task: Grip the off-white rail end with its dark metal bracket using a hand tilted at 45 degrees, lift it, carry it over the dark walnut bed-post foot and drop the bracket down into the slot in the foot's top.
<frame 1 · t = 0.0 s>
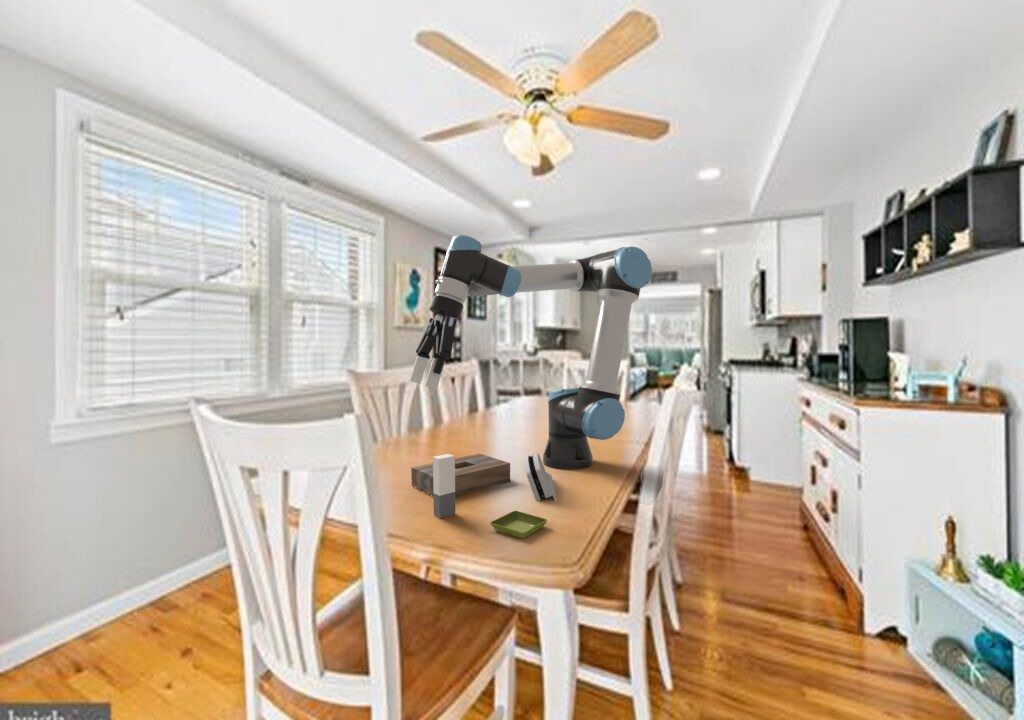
hand: (422, 385, 112), 28 cm above the table, tool tilted 20°, fingers open, 13 cm apart
grey curved slotted block: (539, 491, 122), on the table
rail end: (444, 514, 105), on the table
olive green shallow tray: (519, 531, 98), on the table
post foot: (461, 483, 127), on the table
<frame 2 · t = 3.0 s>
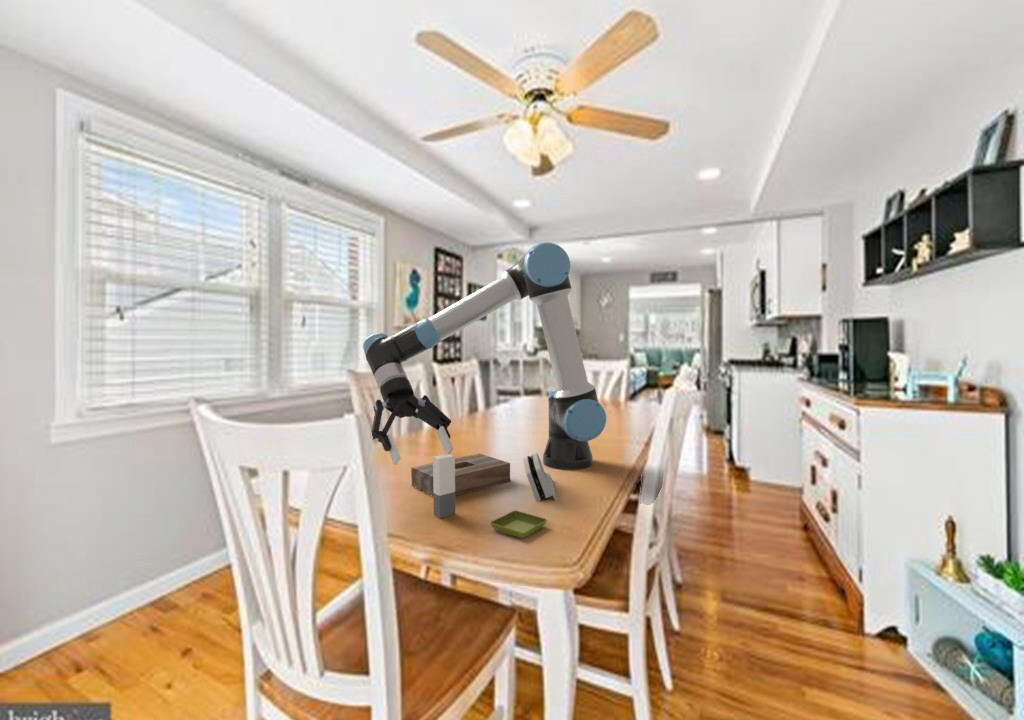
hand: (424, 456, 109), 12 cm above the table, tool tilted 45°, fingers open, 13 cm apart
nothing on the table moved.
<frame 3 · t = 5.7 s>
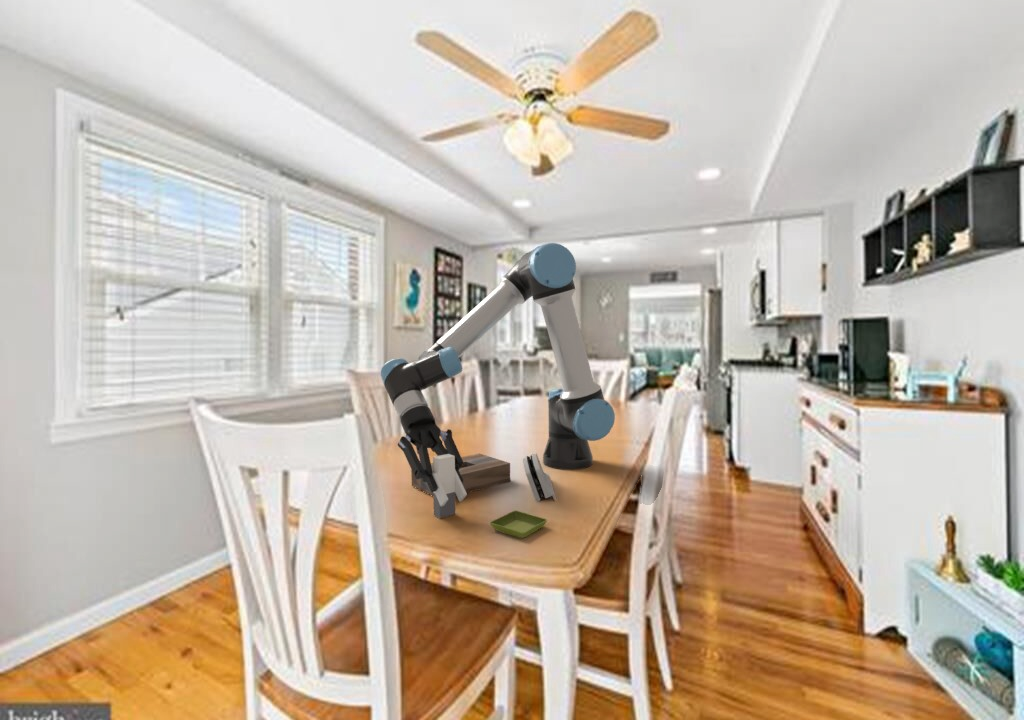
hand: (453, 500, 102), 4 cm above the table, tool tilted 45°, fingers closed on rail end, 4 cm apart
rail end: (444, 514, 105), on the table, touching gripper
everything else where it was.
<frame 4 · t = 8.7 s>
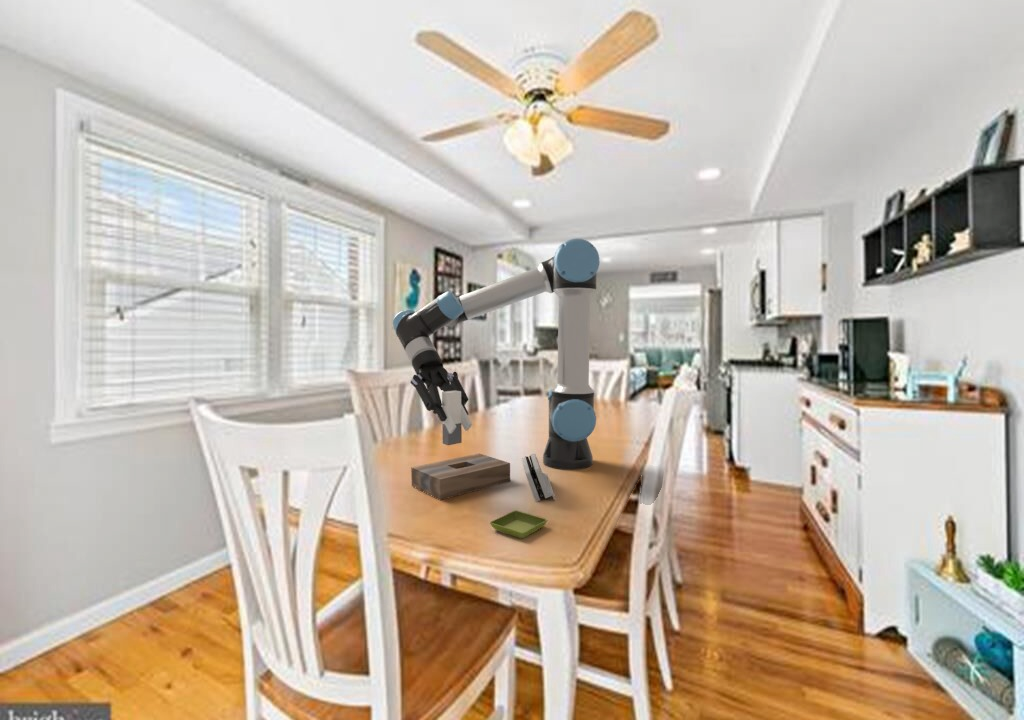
hand: (460, 428, 117), 17 cm above the table, tool tilted 45°, fingers closed on rail end, 4 cm apart
rail end: (452, 443, 120), point 12 cm above the table, touching gripper
everything else where it was.
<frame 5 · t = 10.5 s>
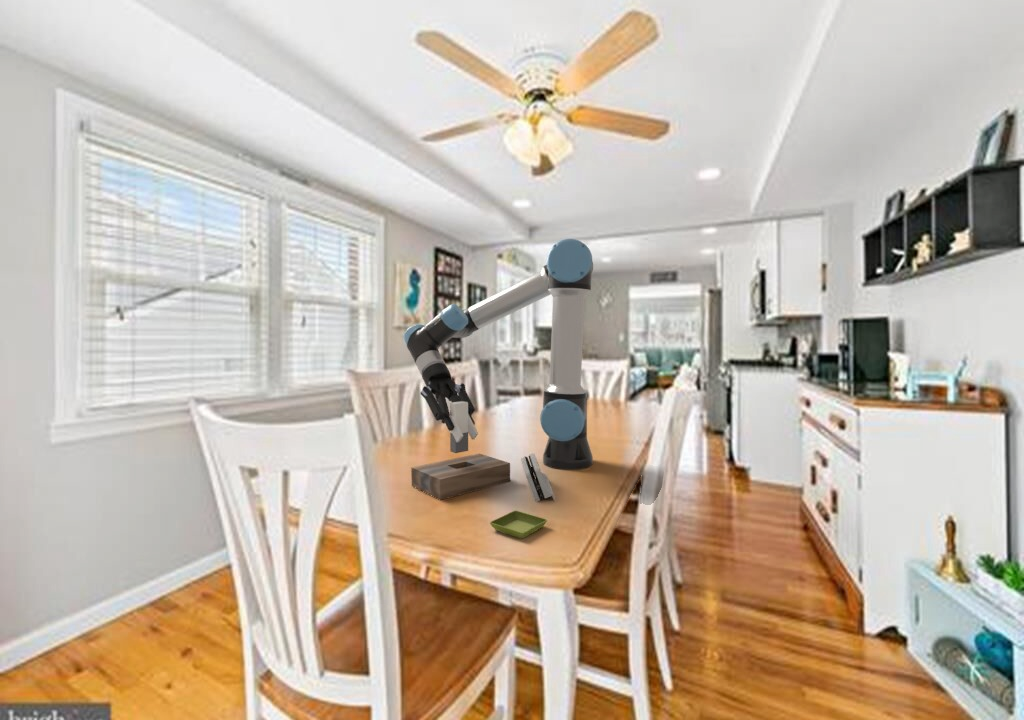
hand: (467, 437, 124), 13 cm above the table, tool tilted 45°, fingers closed on rail end, 4 cm apart
rail end: (459, 451, 127), point 9 cm above the table, touching gripper
everything else where it was.
when the fingers open (8 cm above the table, at t = 11.9 s): rail end drops 2 cm, resting on post foot.
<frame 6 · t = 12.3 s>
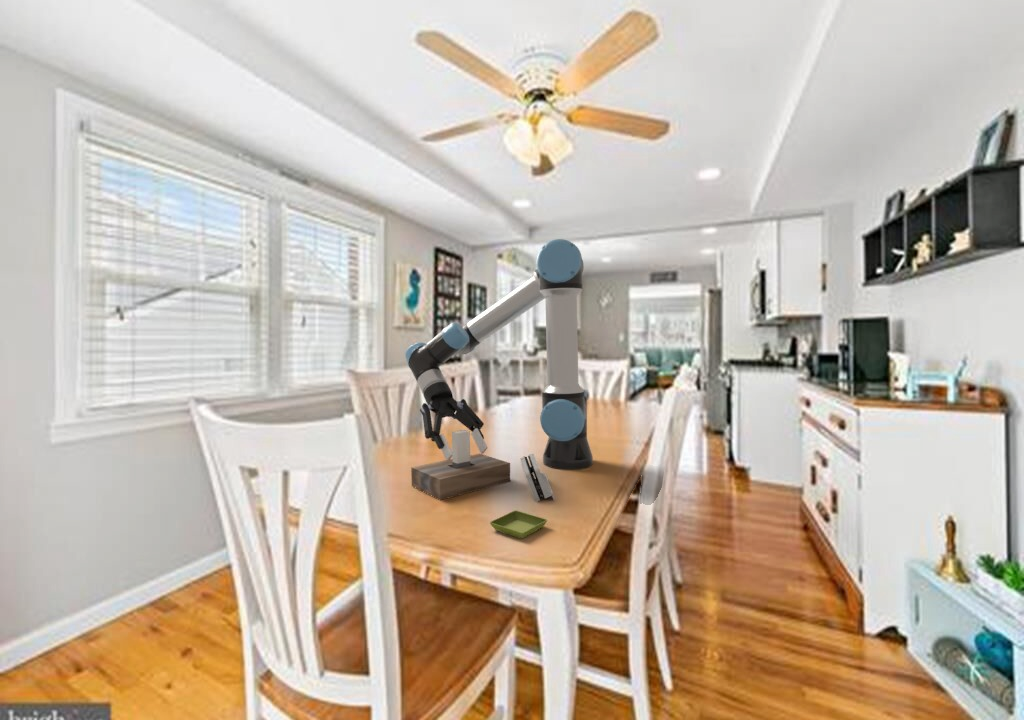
hand: (467, 454, 124), 9 cm above the table, tool tilted 45°, fingers open, 10 cm apart
rail end: (461, 479, 127), point 1 cm above the table, touching post foot
everything else where it was.
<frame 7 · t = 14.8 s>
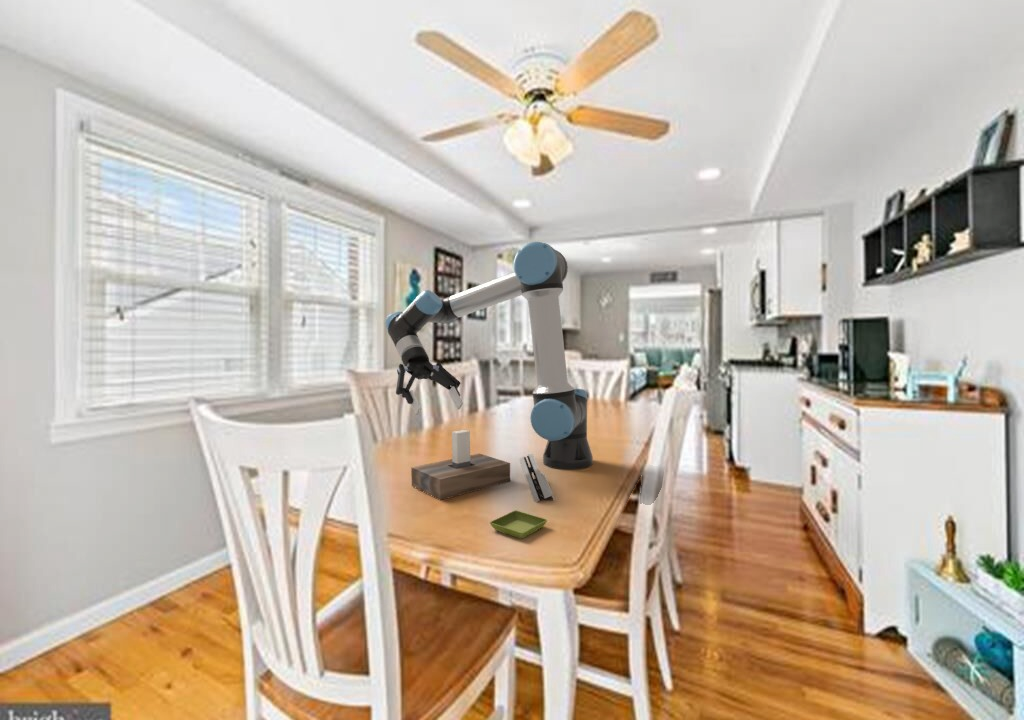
hand: (440, 409, 134), 19 cm above the table, tool tilted 45°, fingers open, 13 cm apart
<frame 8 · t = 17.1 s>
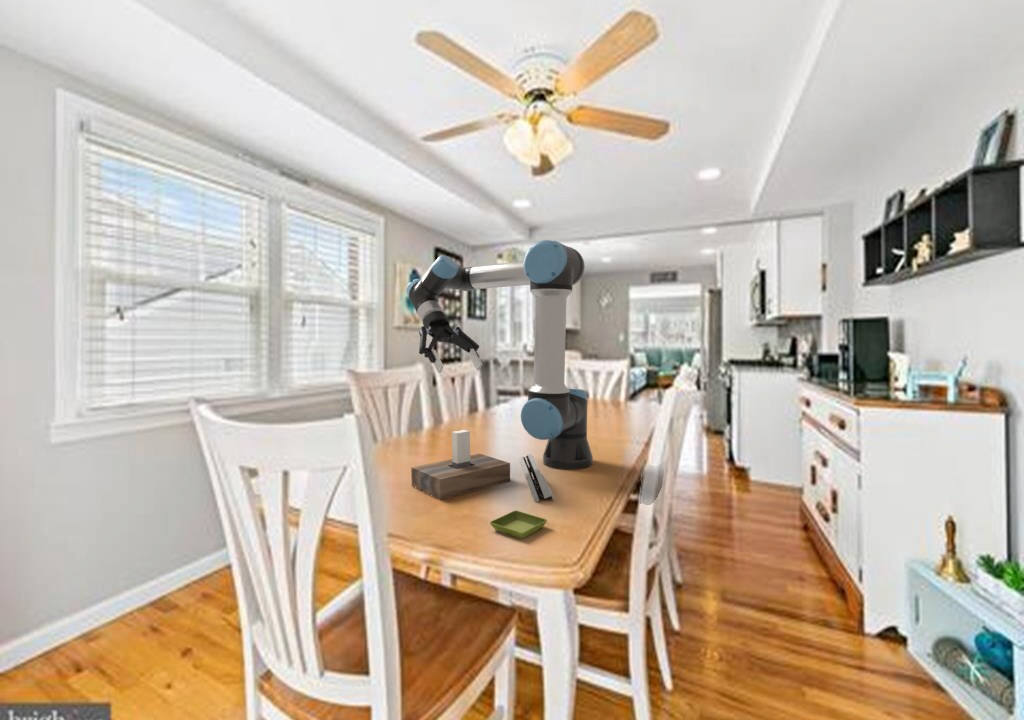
hand: (461, 368, 140), 30 cm above the table, tool tilted 45°, fingers open, 13 cm apart
at the end: rail end 0.1 cm off-centre on the post foot, point 1.0 cm above the post foot's base; rail end tilted 0°; the gripper is holding nothing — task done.
